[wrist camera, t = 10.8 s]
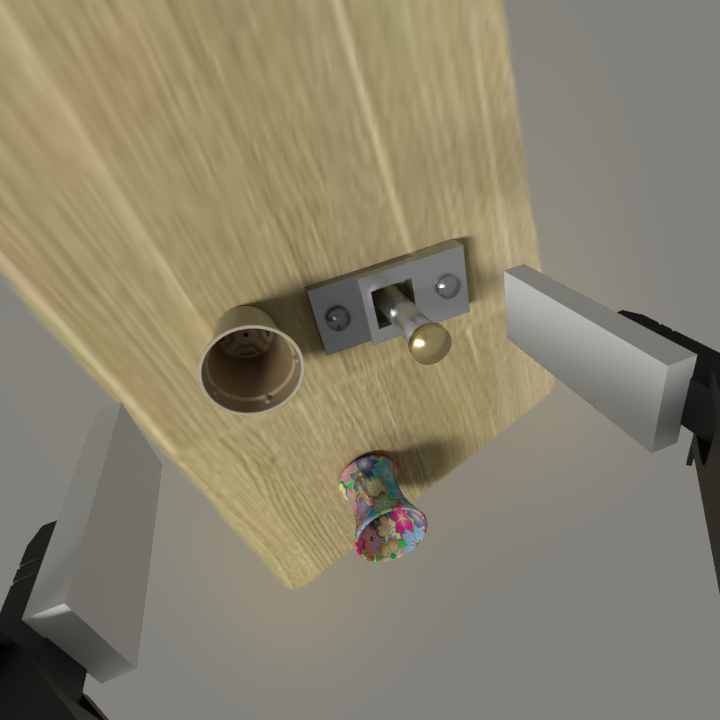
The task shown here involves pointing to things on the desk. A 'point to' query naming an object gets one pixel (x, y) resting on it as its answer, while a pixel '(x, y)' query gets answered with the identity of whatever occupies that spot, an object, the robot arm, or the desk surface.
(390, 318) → the pin
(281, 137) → the desk surface
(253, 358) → the flower pot
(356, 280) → the grey slotted base plate
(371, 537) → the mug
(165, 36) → the desk surface
